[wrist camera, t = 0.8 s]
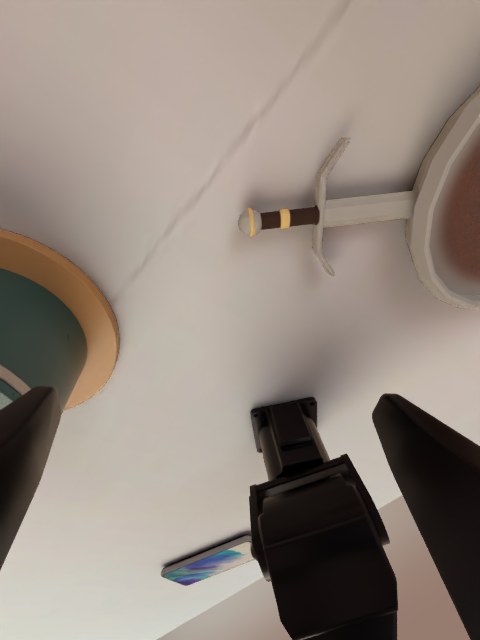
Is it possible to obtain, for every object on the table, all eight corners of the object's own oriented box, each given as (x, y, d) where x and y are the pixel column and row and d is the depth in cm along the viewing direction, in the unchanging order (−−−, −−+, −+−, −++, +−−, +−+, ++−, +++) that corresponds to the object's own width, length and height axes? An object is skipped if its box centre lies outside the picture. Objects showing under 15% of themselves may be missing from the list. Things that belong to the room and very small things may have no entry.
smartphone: (270, 553, 44) (185, 586, 47) (268, 547, 45) (186, 579, 47) (249, 539, 41) (158, 576, 43) (248, 532, 41) (158, 568, 43)
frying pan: (226, 26, 12) (806, -11, 14) (222, 44, 15) (715, 11, 16) (249, 347, 21) (599, 301, 23) (244, 325, 24) (561, 285, 26)
